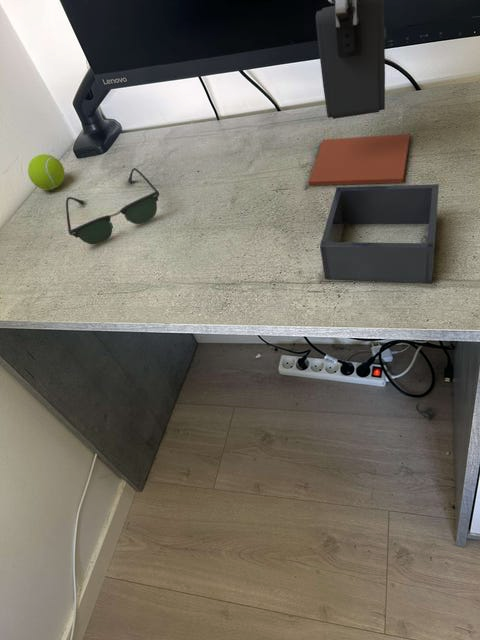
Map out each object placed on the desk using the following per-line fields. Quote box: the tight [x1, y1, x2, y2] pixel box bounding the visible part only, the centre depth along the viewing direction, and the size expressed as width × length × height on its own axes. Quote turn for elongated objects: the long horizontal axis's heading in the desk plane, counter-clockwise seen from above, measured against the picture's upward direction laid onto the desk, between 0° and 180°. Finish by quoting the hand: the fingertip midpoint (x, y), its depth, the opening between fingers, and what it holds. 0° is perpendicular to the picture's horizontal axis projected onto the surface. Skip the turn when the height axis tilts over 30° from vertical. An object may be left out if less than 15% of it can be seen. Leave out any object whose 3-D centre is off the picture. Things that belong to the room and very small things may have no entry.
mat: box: [308, 133, 411, 186], centre depth 83 cm, size 15×13×1 cm
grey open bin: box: [319, 183, 440, 284], centre depth 66 cm, size 14×13×6 cm
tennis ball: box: [27, 153, 66, 191], centre depth 101 cm, size 7×7×7 cm
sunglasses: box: [65, 167, 160, 246], centre depth 89 cm, size 16×17×5 cm
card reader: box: [315, 0, 387, 120], centre depth 71 cm, size 9×4×15 cm, turn 81°
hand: (352, 46), depth 70 cm, fingers closed on card reader, 4 cm apart
